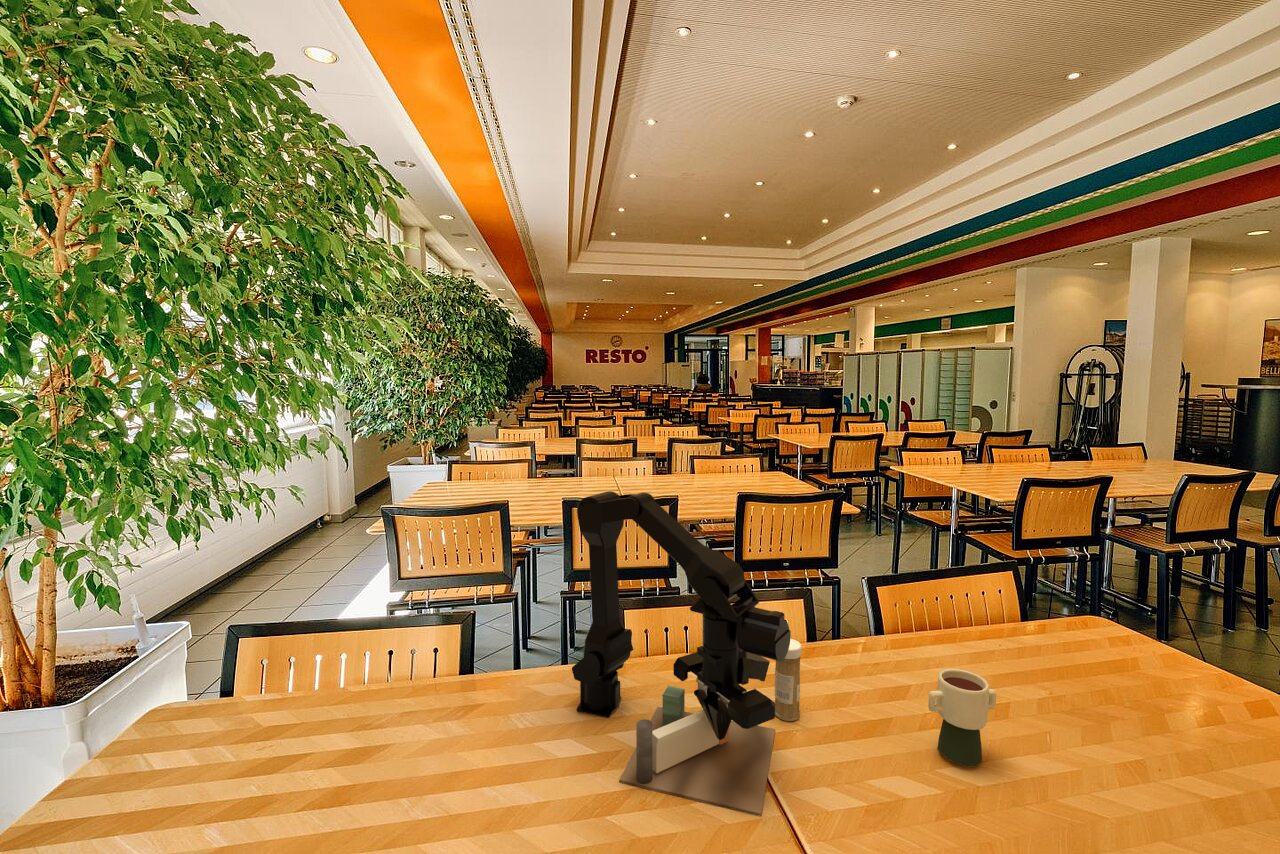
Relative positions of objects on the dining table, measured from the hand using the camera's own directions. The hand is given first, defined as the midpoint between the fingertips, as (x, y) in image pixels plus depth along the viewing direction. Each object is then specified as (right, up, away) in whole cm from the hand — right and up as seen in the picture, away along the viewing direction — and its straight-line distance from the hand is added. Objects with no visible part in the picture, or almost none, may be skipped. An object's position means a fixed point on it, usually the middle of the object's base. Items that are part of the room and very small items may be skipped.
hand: (720, 738), depth 91 cm
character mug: (+38, -4, +1) cm, 38 cm away
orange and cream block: (-5, -3, +1) cm, 5 cm away
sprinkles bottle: (+14, -3, +12) cm, 19 cm away
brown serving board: (-3, -4, +2) cm, 5 cm away
